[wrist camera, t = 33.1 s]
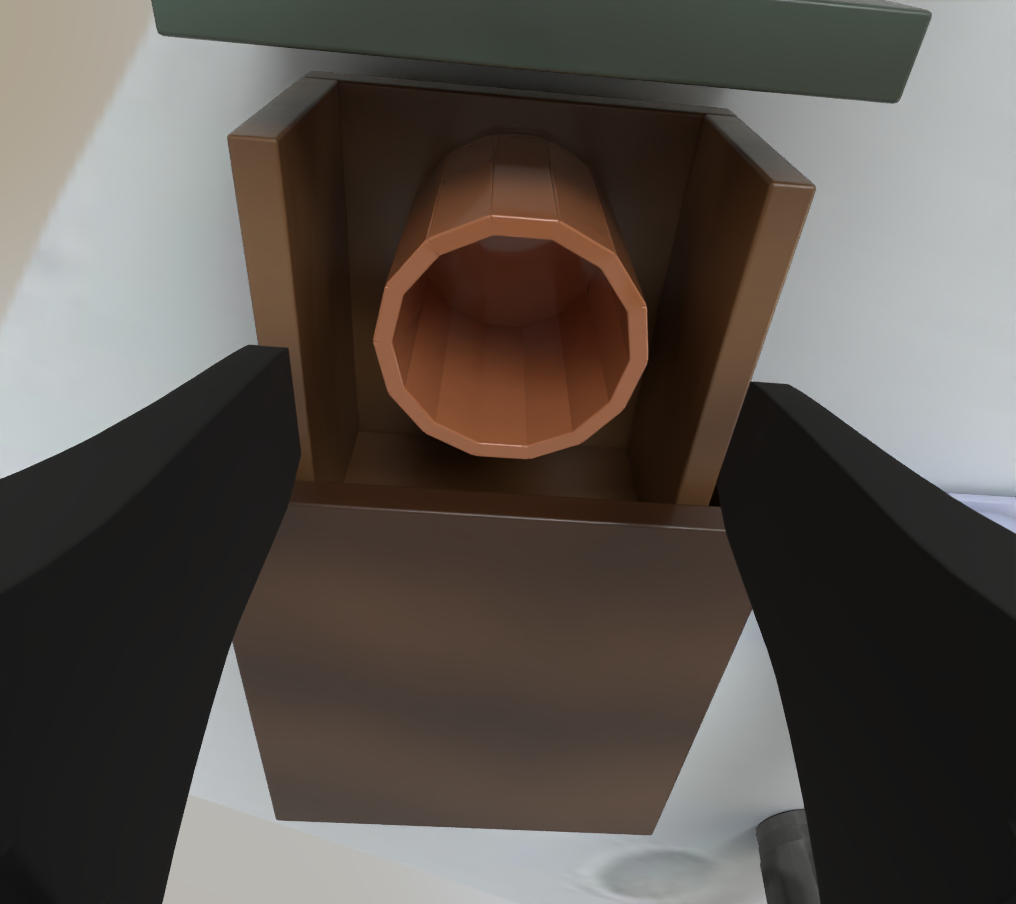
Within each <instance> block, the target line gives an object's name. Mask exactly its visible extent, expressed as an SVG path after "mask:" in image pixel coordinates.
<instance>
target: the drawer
mask: <svg viewBox="0 0 1016 904" xmlns="http://www.w3.org/2000/svg"><path fill="white" fill-rule="evenodd" d="M151 1H152V7H153V12H154V17H155V22H156V28H157V31H158V33H159V34H161V35H162V36H168V37H178V38H189V39H200V40H211V41H222V42H232V43H243V44H254V45H265V46H276V47H286V48H297V49H308V50H319V51H330V52H340V53H351V54H362V55H373V56H384V57H394V58H405V59H416V60H427V61H437V62H448V63H459V64H470V65H481V66H491V67H502V68H513V69H524V70H535V71H545V72H556V73H567V74H578V75H589V76H599V77H610V78H621V79H632V80H643V81H653V82H664V83H675V84H686V85H697V86H707V87H718V88H729V89H740V90H750V91H761V92H772V93H783V94H794V95H804V96H815V97H826V98H837V99H848V100H858V101H869V102H880V103H891V104H893V103H897V102H898V101H899V100H900V98H901V96H902V93H903V90H904V88H905V85H906V83H907V80H908V77H909V75H910V72H911V70H912V67H913V64H914V62H915V59H916V56H917V54H918V51H919V49H920V46H921V43H922V41H923V38H924V36H925V33H926V30H927V28H928V25H929V22H930V20H931V16H932V13H931V12H930V11H929V10H925V9H921V8H916V7H912V6H908V5H903V4H899V3H894V2H890V1H885V0H151ZM504 133H521V134H527V135H533V136H537V137H540V138H544V139H547V140H550V141H552V142H554V143H556V144H558V145H560V146H562V147H564V148H565V149H567V150H568V151H570V152H571V153H573V154H574V155H575V156H576V157H578V158H579V159H580V160H581V161H582V162H583V163H584V164H585V165H586V166H587V167H588V168H589V169H590V170H591V172H592V173H593V174H594V176H595V177H596V179H597V180H598V182H599V184H600V185H601V187H602V189H603V192H604V194H605V196H606V198H607V199H608V201H609V203H610V205H611V206H612V208H613V211H614V214H615V217H616V220H617V222H618V225H619V228H620V231H621V234H622V237H623V240H624V242H625V245H626V248H627V251H628V254H629V257H630V259H631V262H632V265H633V268H634V271H635V274H636V276H637V279H638V282H639V285H640V288H641V291H642V293H643V296H644V299H645V302H646V306H647V320H648V363H647V365H646V367H645V369H644V371H643V373H642V375H641V377H640V379H639V381H638V383H637V385H636V387H635V389H634V391H633V393H632V395H631V397H630V399H629V401H628V403H627V405H626V407H625V409H623V411H622V412H621V413H620V414H618V415H617V416H616V417H615V418H613V419H612V420H611V421H609V422H608V423H607V424H606V425H604V426H603V427H602V428H601V429H599V430H598V431H597V432H596V433H594V434H593V435H592V436H591V437H589V438H588V439H587V440H586V441H584V442H583V443H581V444H579V445H576V446H573V447H569V448H566V449H563V450H559V451H556V452H553V453H549V454H546V455H543V456H539V457H536V458H533V459H529V458H528V459H513V458H497V457H482V456H475V455H471V454H469V453H466V452H464V451H462V450H460V449H458V448H455V447H453V446H451V445H449V444H447V443H445V442H442V441H440V440H438V439H436V438H434V437H432V436H429V435H427V434H426V433H425V432H423V431H422V430H421V429H420V428H419V427H418V426H417V425H416V424H415V422H414V421H413V420H412V419H411V418H410V417H409V416H408V415H407V414H406V413H405V412H404V410H403V409H402V408H401V407H400V406H399V405H398V404H397V403H396V402H395V401H394V399H393V398H392V397H391V396H390V395H389V393H388V392H387V389H386V386H385V382H384V379H383V375H382V372H381V368H380V365H379V362H378V358H377V355H376V351H375V348H374V344H373V336H374V331H375V327H376V322H377V318H378V313H379V309H380V305H381V300H382V296H383V291H384V287H385V284H386V281H387V278H388V275H389V272H390V269H391V266H392V263H393V260H394V257H395V254H396V251H397V248H398V245H399V242H400V239H401V236H402V233H403V230H404V227H405V224H406V221H407V218H408V216H409V213H410V210H411V207H412V204H413V201H414V198H415V195H416V193H417V191H418V190H419V189H420V187H421V186H422V185H423V183H424V181H425V180H426V178H427V177H428V176H429V174H430V173H431V171H432V170H433V169H434V168H435V167H436V166H437V165H438V164H439V163H440V162H441V160H443V159H444V158H445V157H446V156H448V155H449V154H450V153H451V152H453V151H454V150H456V149H458V148H459V147H461V146H463V145H464V144H466V143H469V142H471V141H474V140H476V139H479V138H482V137H486V136H490V135H496V134H504ZM227 140H228V147H229V154H230V160H231V167H232V173H233V180H234V187H235V193H236V200H237V207H238V213H239V220H240V227H241V233H242V240H243V247H244V253H245V260H246V267H247V273H248V280H249V287H250V293H251V300H252V307H253V313H254V320H255V327H256V333H257V340H258V345H259V346H272V347H286V348H289V355H290V364H291V372H292V380H293V389H294V397H295V405H296V413H297V422H298V430H299V438H300V446H301V458H300V462H299V466H298V470H297V474H296V478H295V480H304V481H320V482H336V483H352V484H368V485H383V486H399V487H415V488H431V489H447V490H462V491H478V492H494V493H510V494H526V495H541V496H557V497H573V498H589V499H605V500H620V501H636V502H652V503H668V504H684V505H699V506H708V505H709V503H710V500H711V497H712V494H713V491H714V488H715V485H716V481H717V478H718V475H719V472H720V469H721V466H722V463H723V460H724V458H725V455H726V452H727V449H728V446H729V443H730V440H731V437H732V434H733V431H734V428H735V425H736V422H737V419H738V416H739V413H740V410H741V407H742V404H743V401H744V398H745V395H746V392H747V389H748V387H749V384H750V382H751V379H752V376H753V373H754V370H755V367H756V364H757V361H758V359H759V356H760V353H761V350H762V347H763V344H764V341H765V338H766V335H767V332H768V329H769V326H770V323H771V320H772V317H773V314H774V311H775V309H776V306H777V303H778V300H779V297H780V294H781V291H782V288H783V285H784V282H785V279H786V276H787V273H788V270H789V267H790V264H791V262H792V259H793V256H794V253H795V250H796V247H797V244H798V241H799V238H800V235H801V232H802V229H803V226H804V223H805V220H806V217H807V215H808V212H809V209H810V206H811V203H812V200H813V197H814V194H815V191H816V186H815V185H814V184H813V183H812V182H811V181H809V180H808V179H807V178H806V177H805V176H804V175H803V174H802V173H800V172H799V171H798V170H797V169H796V168H795V167H794V166H792V165H791V164H790V163H789V162H788V161H787V160H786V159H785V158H783V157H782V156H781V155H780V154H779V153H778V152H777V151H775V150H774V149H773V148H772V147H771V146H770V145H769V144H768V143H766V142H765V141H764V140H763V139H762V138H761V137H760V136H758V135H757V134H756V133H755V132H754V131H753V130H752V129H751V128H749V127H748V126H747V125H746V124H745V123H744V122H743V121H741V120H740V119H739V118H738V117H737V116H736V115H735V114H734V113H732V112H731V111H730V110H729V109H725V108H714V107H703V106H692V105H681V104H670V103H659V102H648V101H637V100H626V99H615V98H604V97H593V96H582V95H571V94H560V93H549V92H538V91H527V90H516V89H505V88H494V87H483V86H472V85H461V84H451V83H440V82H429V81H418V80H407V79H396V78H385V77H374V76H363V75H352V74H341V73H330V72H319V71H311V72H309V73H308V74H306V75H305V76H304V77H303V78H300V79H299V80H298V81H297V82H295V83H294V84H293V85H292V86H290V87H289V88H288V89H286V90H285V91H284V92H283V93H281V94H280V95H279V96H277V97H276V98H275V99H274V100H272V101H271V102H270V103H268V104H267V105H266V106H265V107H263V108H262V109H261V110H259V111H258V112H257V113H256V114H254V115H253V116H252V117H250V118H249V119H248V120H247V121H245V122H244V123H243V124H242V125H240V126H239V127H238V128H236V129H235V130H234V131H233V132H231V133H230V134H229V135H228V137H227Z"/></svg>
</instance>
